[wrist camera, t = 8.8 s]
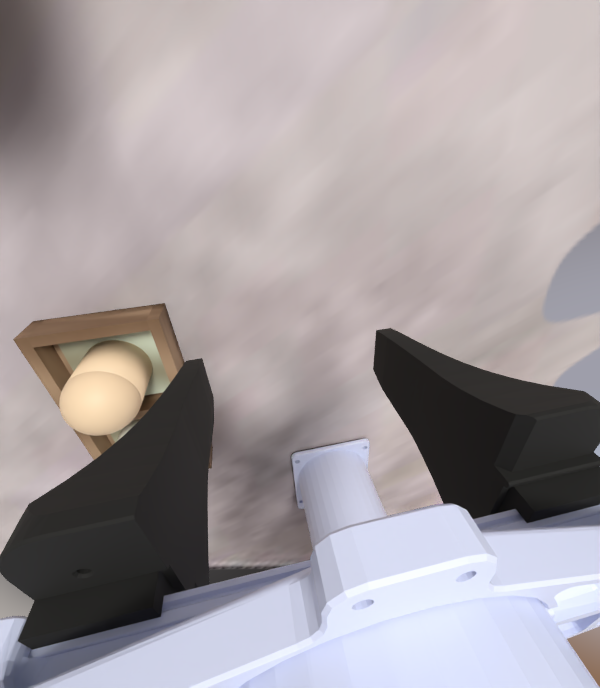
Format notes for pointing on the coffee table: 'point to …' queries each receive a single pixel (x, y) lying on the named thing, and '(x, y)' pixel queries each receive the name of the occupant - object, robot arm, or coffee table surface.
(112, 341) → the brown egg
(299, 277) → the coffee table surface
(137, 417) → the egg crate
